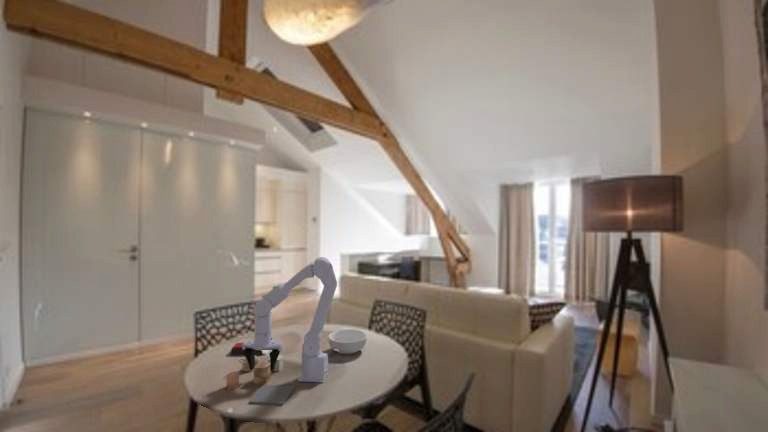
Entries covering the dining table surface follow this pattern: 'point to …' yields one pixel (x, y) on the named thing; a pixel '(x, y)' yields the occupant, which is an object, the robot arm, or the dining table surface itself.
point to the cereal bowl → (348, 341)
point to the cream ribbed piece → (245, 364)
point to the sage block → (278, 363)
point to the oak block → (262, 373)
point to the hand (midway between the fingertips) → (262, 369)
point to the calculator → (238, 347)
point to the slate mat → (272, 395)
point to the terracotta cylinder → (232, 381)
